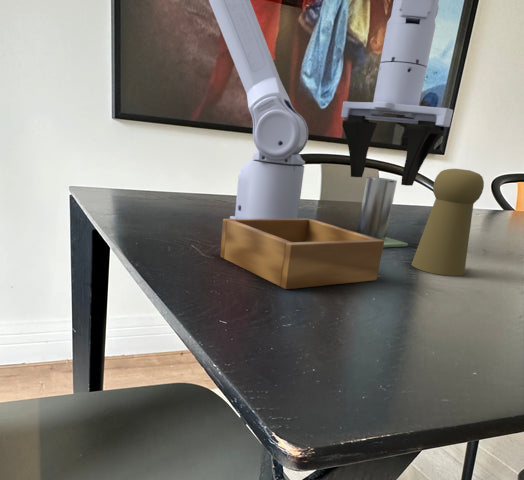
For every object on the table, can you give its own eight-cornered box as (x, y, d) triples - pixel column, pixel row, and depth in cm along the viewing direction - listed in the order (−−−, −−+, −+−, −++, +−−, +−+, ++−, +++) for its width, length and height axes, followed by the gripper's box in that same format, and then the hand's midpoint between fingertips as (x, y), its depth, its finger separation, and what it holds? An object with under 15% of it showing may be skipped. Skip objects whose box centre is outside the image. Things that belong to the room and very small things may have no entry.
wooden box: (219, 257, 52) (222, 218, 51) (305, 252, 59) (309, 218, 57) (285, 289, 44) (291, 244, 42) (376, 280, 50) (384, 240, 49)
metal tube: (351, 236, 70) (361, 176, 66) (365, 234, 73) (375, 176, 69) (376, 242, 67) (388, 180, 64) (389, 240, 70) (402, 180, 67)
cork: (468, 278, 55) (497, 174, 51) (413, 270, 56) (437, 167, 52) (460, 266, 61) (485, 171, 56) (409, 259, 61) (430, 165, 57)
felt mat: (332, 235, 71) (332, 233, 71) (369, 234, 75) (369, 232, 75) (370, 248, 65) (370, 245, 65) (407, 246, 69) (408, 243, 69)
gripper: (336, 59, 63) (319, 173, 68) (447, 60, 54) (418, 189, 60) (364, 69, 68) (346, 173, 73) (469, 71, 60) (441, 189, 65)
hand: (380, 181), depth 67 cm, fingers open, 7 cm apart
